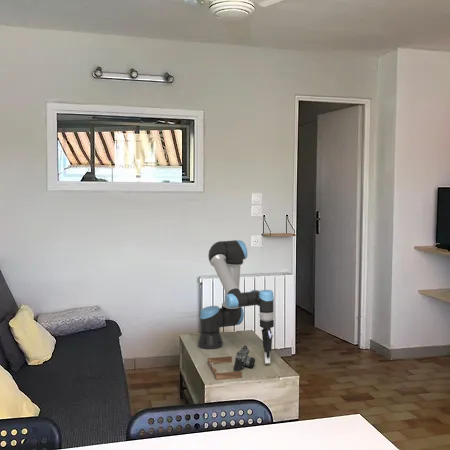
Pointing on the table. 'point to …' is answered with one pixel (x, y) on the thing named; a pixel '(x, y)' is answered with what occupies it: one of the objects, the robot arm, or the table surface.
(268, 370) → the table surface
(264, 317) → the robot arm
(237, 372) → the dock
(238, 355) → the camera
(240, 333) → the table surface
